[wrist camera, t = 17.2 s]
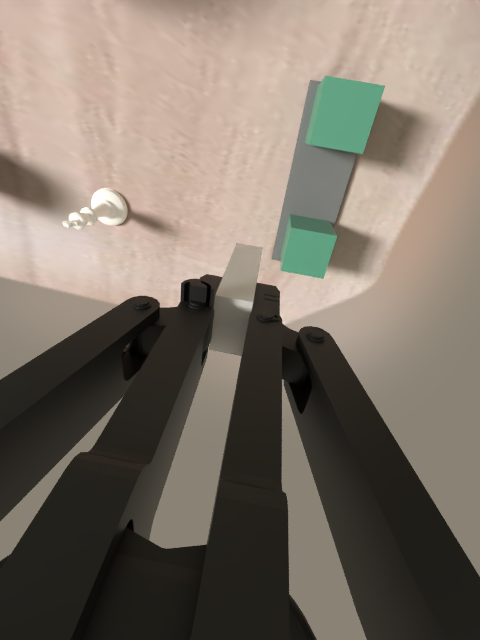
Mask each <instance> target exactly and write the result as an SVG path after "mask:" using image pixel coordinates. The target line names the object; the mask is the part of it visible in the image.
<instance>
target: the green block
mask: <svg viewBox="0 0 480 640" xmlns="http://www.w3.org/2000/svg"><path fill="white" fill-rule="evenodd" d="M336 239H337V234H336V232H335V231H334V229H333V227H332V225H331V223H330V221H325V220H320V219H314V218H309V217H303V216H298V215H292V214H290V215H289V220H288V224H287V228H286V232H285V237H284V241H283V245H282V250H281V271H285V272H291V273H296V274H301V275H307V276H312V277H317V278H324V275H325V272H326V269H327V266H328V263H329V260H330V257H331V254H332V251H333V248H334V245H335V242H336Z"/></svg>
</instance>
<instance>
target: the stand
mask: <svg viewBox="0 0 480 640" xmlns="http://www.w3.org/2000/svg"><path fill="white" fill-rule="evenodd" d="M384 88H385V86H383V85H377V84H371V83H365V82H359V81H353V80H347V79H341V78H335V77H330V76H325V77H324V79H323V80H322V81H321V82H319V81H313V80H310V83H309V87H308V92H307V97H306V101H305V106H304V111H303V115H302V120H301V125H300V129H299V134H298V139H297V143H296V148H295V153H294V157H293V162H292V167H291V171H290V176H289V181H288V185H287V190H286V195H285V199H284V204H283V209H282V213H281V218H280V223H279V227H278V232H277V237H276V241H275V246H274V251H273V255H272V259H273V260H278V261H281V250H282V245H283V241H284V237H285V232H286V228H287V224H288V220H289V215H290V214H292V215H298V216H303V217H309V218H314V219H320V220H325V221H330V223H331V225H332V227H333V228H334V225H335V222H336V218H337V215H338V212H339V209H340V206H341V203H342V199H343V196H344V193H345V190H346V187H347V184H348V180H349V177H350V174H351V171H352V168H353V165H354V161H355V158H356V155H357V153H360V154H363V152H364V149H365V146H366V143H367V140H368V137H369V134H370V131H371V128H372V124H373V121H374V118H375V115H376V112H377V109H378V106H379V103H380V100H381V97H382V94H383V91H384Z"/></svg>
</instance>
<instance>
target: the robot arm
mask: <svg viewBox="0 0 480 640" xmlns="http://www.w3.org/2000/svg"><path fill="white" fill-rule="evenodd" d="M261 254H262V247H256V246H251V245H245V244H240V243H237V244H236V246H235V249H234V251H233V254H232V256H231V258H230V261H229V263H228V266H227V268H226V271H225V273H224V275H223V277H219V276H214V275H208V274H206V275H204V276H203V277H201V278H200V279H189V280H185V281H184V282H182V283H181V302H180V303H179V305H178V307H171V308H160V303H159V302H158V300H156V299H154V298H152V297H148V296H137V297H132V298H130V299H128V300H126V301H125V302H123V303H121V304H120V305H118V306H117V307H115V308H113V309H112V310H110V311H109V312H107V313H106V314H104V315H102V316H101V317H99V318H98V319H96V320H94V321H93V322H91V323H90V324H88V325H87V326H85V327H83V328H82V329H80V330H79V331H77V332H76V333H74V334H72V335H71V336H69V337H68V338H66V339H64V340H63V341H61V342H60V343H58V344H56V345H55V346H53V347H52V348H50V349H48V350H47V351H45V352H44V353H42V354H41V355H39V356H37V357H36V358H34V359H33V360H31V361H30V362H28V363H26V364H25V365H23V366H22V367H20V368H18V369H17V370H15V371H14V372H12V373H10V374H9V375H7V376H6V377H4V378H3V379H1V380H0V521H1V520H2V519H3V518H4V517H5V516H6V515H7V514H8V513H9V512H10V511H11V510H12V509H13V508H14V507H15V506H16V505H17V504H18V503H19V502H20V501H21V500H22V499H23V497H25V496H26V495H27V493H29V492H30V491H31V490H32V489H33V488H34V487H35V486H36V485H37V484H38V482H39V481H41V479H42V478H43V477H44V476H45V475H46V474H47V473H48V472H49V471H50V470H51V469H52V468H53V467H54V466H55V465H56V464H57V463H58V462H59V461H60V460H61V459H62V458H63V457H64V456H65V455H66V454H67V453H68V452H69V451H70V450H71V449H72V448H73V447H74V446H75V445H76V444H77V443H78V442H79V441H80V440H81V439H82V438H83V437H84V436H85V435H86V434H87V433H88V432H89V431H90V429H92V428H93V426H94V425H95V424H97V422H98V421H99V420H100V419H101V418H102V417H103V416H104V415H105V414H106V413H107V412H108V411H109V410H110V409H111V408H112V407H113V406H114V405H115V404H116V403H117V402H118V401H119V400H120V399H121V398H122V397H123V396H124V397H123V398H122V400H121V402H120V403H119V405H118V407H117V408H116V410H115V412H114V413H113V415H112V417H111V418H110V420H109V422H108V423H107V425H106V427H105V428H104V430H103V432H102V433H101V435H100V437H99V438H98V440H97V442H96V443H95V445H94V446H93V448H92V449H91V450H90V451H89V452H82V453H79V454H78V455H77V456H75V457H74V459H73V460H72V461H71V462H70V464H69V465H68V466H67V468H66V469H65V471H64V472H63V474H62V475H61V477H60V479H59V480H58V482H57V483H56V485H55V486H54V488H53V489H52V491H51V493H50V494H49V496H48V497H47V499H46V500H45V502H44V503H43V505H42V507H41V508H40V510H39V511H38V513H37V514H36V516H35V517H34V519H33V521H32V522H31V524H30V525H29V527H28V528H27V530H26V531H25V533H24V535H23V536H22V538H21V539H20V541H19V543H18V544H17V546H16V547H15V549H14V550H13V552H12V553H11V554H10V555H9V556H7V557H6V558H4V559H3V560H1V561H0V640H317V639H316V637H315V635H314V633H313V632H312V630H311V628H310V626H309V624H308V622H307V620H306V618H305V616H304V615H303V613H302V611H301V610H300V608H299V607H298V605H297V604H296V602H295V601H294V600H293V598H292V597H291V596H290V595H289V561H288V560H289V559H288V558H289V557H288V504H287V497H286V494H285V493H284V492H283V491H282V483H281V467H282V464H281V462H282V461H281V460H282V459H281V457H282V455H281V454H282V451H281V450H282V446H281V445H282V379H284V387H285V390H286V393H287V396H288V399H289V402H290V405H291V408H292V412H293V415H294V418H295V421H296V424H297V427H298V430H299V433H300V437H301V440H302V443H303V446H304V449H305V452H306V455H307V458H308V462H309V465H310V468H311V471H312V474H313V477H314V480H315V483H316V486H317V489H318V493H319V496H320V499H321V502H322V505H323V508H324V511H325V514H326V518H327V521H328V523H329V527H330V530H331V533H332V536H333V539H334V542H335V545H336V549H337V552H338V555H339V558H340V561H341V564H342V567H343V570H344V573H345V577H346V580H347V583H348V586H349V589H350V592H351V595H352V598H353V602H354V605H355V607H356V611H357V613H358V616H359V619H360V621H361V624H362V627H363V630H364V633H365V636H366V638H367V640H480V577H479V575H478V573H477V572H476V570H475V569H474V567H473V565H472V564H471V562H470V560H469V559H468V557H467V556H466V554H465V552H464V551H463V549H462V547H461V546H460V544H459V543H458V541H457V539H456V538H455V536H454V535H453V533H452V531H451V530H450V528H449V526H448V525H447V523H446V521H445V520H444V518H443V516H442V515H441V513H440V512H439V510H438V508H437V507H436V505H435V504H434V502H433V500H432V499H431V497H430V495H429V494H428V492H427V491H426V489H425V487H424V486H423V484H422V482H421V481H420V479H419V477H418V476H417V474H416V473H415V471H414V469H413V468H412V466H411V464H410V463H409V461H408V460H407V458H406V456H405V455H404V453H403V451H402V450H401V448H400V447H399V445H398V443H397V442H396V440H395V439H394V437H393V435H392V434H391V432H390V430H389V429H388V427H387V425H386V424H385V422H384V421H383V419H382V417H381V416H380V414H379V412H378V411H377V409H376V408H375V406H374V404H373V403H372V401H371V399H370V398H369V396H368V395H367V393H366V391H365V390H364V388H363V386H362V385H361V383H360V382H359V380H358V378H357V377H356V375H355V374H354V372H353V370H352V368H351V367H350V365H349V364H348V362H347V360H346V359H345V357H344V356H343V354H342V353H341V351H340V349H339V347H338V346H337V344H336V342H335V341H334V339H333V338H332V337H331V335H330V334H329V333H327V332H326V331H324V330H323V329H321V328H318V327H312V326H309V327H303V328H301V329H300V331H299V332H296V331H293V330H291V329H289V328H287V327H286V326H284V325H283V324H282V319H281V316H280V315H279V314H280V291H279V290H278V289H277V287H276V286H272V285H266V284H261V283H257V277H258V271H259V265H260V260H261ZM209 344H210V347H209ZM208 347H209V349H210V350H214V351H219V352H224V353H230V354H235V355H240V356H242V358H241V363H240V368H239V374H238V379H237V384H236V390H235V395H234V400H233V406H232V411H231V417H230V422H229V427H228V433H227V439H226V444H225V449H224V454H223V460H222V465H221V471H220V476H219V481H218V487H217V493H216V497H215V503H214V508H213V513H212V519H211V524H210V530H209V535H208V541H207V545H200V546H190V547H181V548H172V549H164V548H161V547H159V546H157V545H155V544H154V543H152V542H151V541H149V537H150V532H151V527H152V523H153V519H154V515H155V512H156V510H157V506H158V504H159V500H160V497H161V495H162V491H163V488H164V485H165V482H166V479H167V476H168V473H169V470H170V467H171V464H172V461H173V458H174V455H175V452H176V449H177V446H178V443H179V440H180V437H181V434H182V431H183V428H184V425H185V422H186V419H187V416H188V413H189V410H190V407H191V404H192V401H193V398H194V395H195V392H196V389H197V386H198V383H199V380H200V377H201V374H202V371H203V368H204V365H205V362H206V359H207V353H208Z"/></svg>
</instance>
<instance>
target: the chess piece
mask: <svg viewBox="0 0 480 640" xmlns="http://www.w3.org/2000/svg"><path fill="white" fill-rule="evenodd" d="M91 206H92V209H91V208H88V207H84V208H82V209H81V211H80V213H79V212H72V213H71V214H70V215H69V221H63V225H64V226H65V227H66V228H69V227H72V226H73V227H74V228H75V229H78V230H82V229H84V228H85V227H86V225H94V224H95V223H96V222H97V218H98V219H99V220H100V221H101V222H103V223H104V224H107V225H111V226H114V225H119V224H121V223H123V222H124V221H125V219H126V217H127V205H126V203H125V200H124V199H123V197H122V196H121V195H120V194H119V193H118V192H116V191H115V190H113V189H110V188H102V189H99V190H98V191H96V192H95V193H94V195H93V196H92V199H91Z"/></svg>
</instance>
